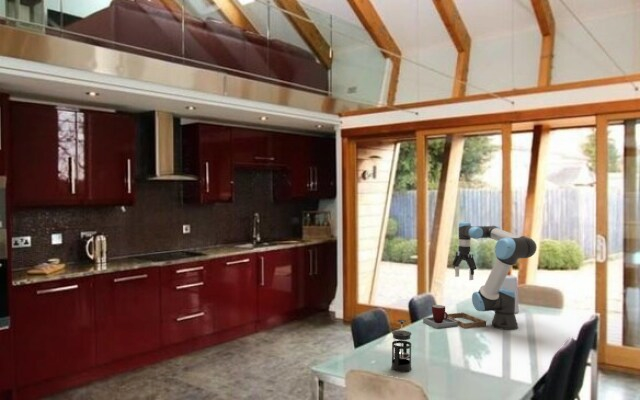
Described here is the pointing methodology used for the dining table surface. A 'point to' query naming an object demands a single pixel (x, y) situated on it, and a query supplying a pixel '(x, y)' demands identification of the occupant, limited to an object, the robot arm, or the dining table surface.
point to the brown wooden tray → (475, 323)
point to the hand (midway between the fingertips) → (464, 278)
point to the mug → (439, 313)
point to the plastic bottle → (511, 288)
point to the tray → (445, 323)
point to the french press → (401, 357)
